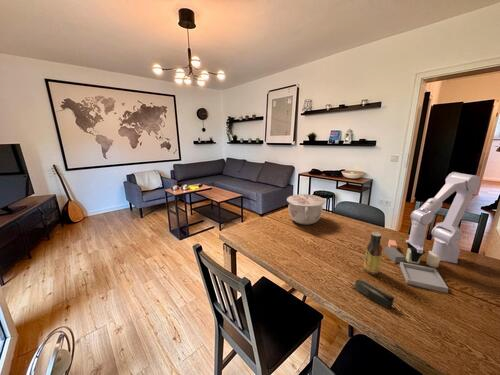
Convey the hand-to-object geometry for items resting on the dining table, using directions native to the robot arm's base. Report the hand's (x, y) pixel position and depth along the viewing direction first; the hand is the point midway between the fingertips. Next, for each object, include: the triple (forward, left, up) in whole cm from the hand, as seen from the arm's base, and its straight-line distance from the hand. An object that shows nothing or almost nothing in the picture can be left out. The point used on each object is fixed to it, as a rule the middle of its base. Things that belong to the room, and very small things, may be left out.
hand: (412, 258), depth 105 cm
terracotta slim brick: (+7, -10, -2) cm, 12 cm away
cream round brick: (-8, 0, -2) cm, 8 cm away
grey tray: (0, +14, -1) cm, 14 cm away
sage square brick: (0, 0, -2) cm, 2 cm away
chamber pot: (+59, -30, -2) cm, 66 cm away
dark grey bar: (+22, +34, -2) cm, 41 cm away
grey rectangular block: (+8, 0, -2) cm, 8 cm away
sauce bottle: (+20, +17, -2) cm, 26 cm away
